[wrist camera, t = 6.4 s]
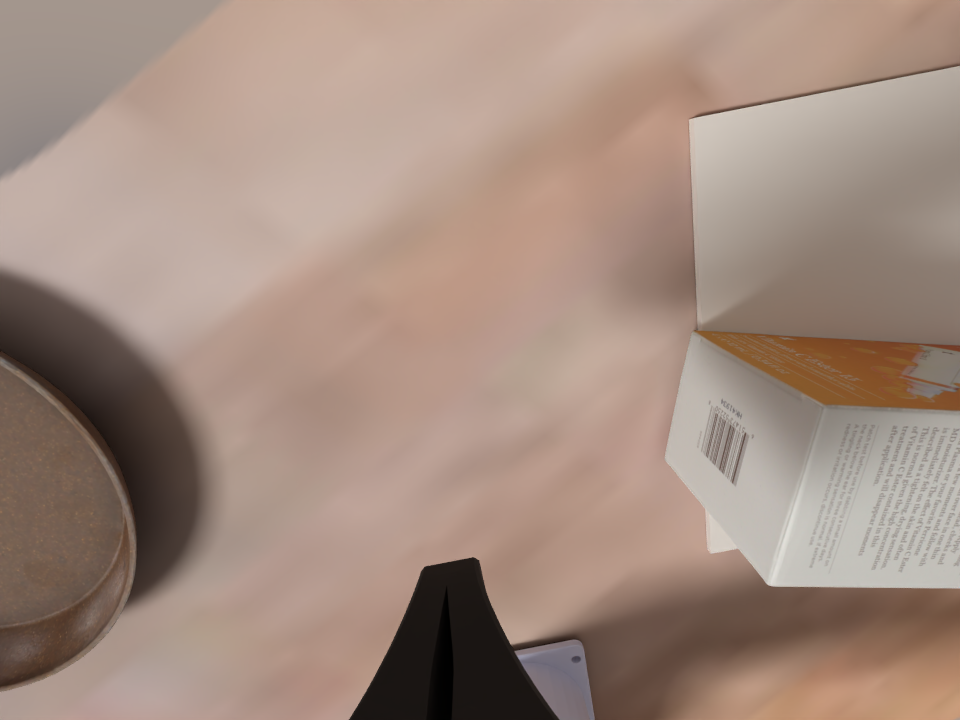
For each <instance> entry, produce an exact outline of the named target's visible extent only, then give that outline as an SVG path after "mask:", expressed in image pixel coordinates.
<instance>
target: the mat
mask: <svg viewBox="0 0 960 720" xmlns="http://www.w3.org/2000/svg"><path fill="white" fill-rule="evenodd" d="M689 133H690V157H691V181H692V204H693V228H694V252H695V275H696V299H697V323H698V331H718V332H735V333H751V334H765V335H779V336H797V337H815V338H835V339H853V340H869V341H886V342H902V343H920V344H938V345H960V66H957V67H952V68H947V69H942V70H937V71H932V72H927V73H921V74H916V75H911V76H906V77H901V78H896V79H891V80H886V81H880V82H875V83H870V84H865V85H860V86H855V87H850V88H845V89H840V90H834V91H829V92H824V93H819V94H814V95H809V96H804V97H799V98H794V99H788V100H783V101H778V102H773V103H768V104H763V105H758V106H753V107H747V108H742V109H737V110H732V111H727V112H722V113H717V114H712V115H707V116H701V117H696V118H692V119H689ZM705 512H706V536H707V549H708V550H709V552H710V553H711V554H712V553H718V552H723V551H728V550H733V549H738V547H737V546H736V545H735V544H734V543H733V541H732V540H731V539H730V538H729V537H728V535H727V534H726V533H725V532H724V531H723V529H722V528H721V527H720V526H719V525H718V523H717V522H716V521H715V520H714V519H713V517H712V516H711V515H710V514H709V512H708V511H707V510H706V509H705Z"/></svg>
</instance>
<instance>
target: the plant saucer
mask: <svg viewBox="0 0 960 720" xmlns="http://www.w3.org/2000/svg"><path fill="white" fill-rule="evenodd" d="M136 558H137V534H136V523H135V516H134V510H133V506H132V502H131V498H130V494H129V491H128V488H127V485H126V482H125V479H124V477H123V474H122V471H121V469H120V467H119V465H118V463H117V461H116V459H115V457H114V455H113V453H112V451H111V449H110V448H109V446H108V445H107V443H106V442H105V440H104V438H103V437H102V436H101V434H100V433H99V432H98V430H97V429H96V428H95V426H94V425H93V424H92V422H91V421H90V420H89V419H88V418H87V417H86V415H85V414H84V413H83V412H82V411H81V410H80V409H79V408H78V407H77V406H76V405H75V404H74V403H73V402H72V401H71V400H70V399H69V398H68V397H67V396H66V395H65V394H63V393H62V392H61V391H60V390H59V389H57V388H56V387H55V386H54V385H52V384H51V383H50V382H48V381H47V380H46V379H45V378H43V377H42V376H40V375H39V374H38V373H36V372H35V371H33V370H32V369H30V368H28V367H27V366H25V365H23V364H22V363H20V362H19V361H17V360H15V359H14V358H12V357H10V356H8V355H7V354H5V353H3V352H1V351H0V692H3V691H7V690H11V689H14V688H18V687H22V686H26V685H29V684H32V683H35V682H37V681H40V680H43V679H45V678H47V677H49V676H51V675H54V674H56V673H58V672H59V671H61V670H63V669H65V668H66V667H68V666H70V665H71V664H73V663H74V662H76V661H77V660H79V659H80V658H82V657H83V656H84V655H86V654H87V653H88V652H89V651H90V650H91V649H93V648H94V647H95V646H96V645H97V644H98V643H99V642H100V641H101V640H102V639H103V638H104V637H105V635H106V634H107V633H108V632H109V631H110V629H111V628H112V627H113V625H114V624H115V623H116V621H117V619H118V617H119V616H120V614H121V612H122V611H123V609H124V607H125V605H126V602H127V600H128V597H129V595H130V592H131V588H132V584H133V581H134V576H135V569H136Z"/></svg>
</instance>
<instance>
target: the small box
mask: <svg viewBox="0 0 960 720" xmlns="http://www.w3.org/2000/svg"><path fill="white" fill-rule="evenodd" d="M665 461H666V462H667V463H668V464H669V465H670V467H671V468H672V469H673V470H674V471H675V473H676V474H677V475H678V476H679V477H680V479H681V480H682V481H683V482H684V483H685V485H686V486H687V487H688V488H689V489H690V491H691V492H692V493H693V494H694V496H695V497H696V498H697V499H698V500H699V502H700V503H701V504H702V505H703V506H704V508H705V509H706V510H707V511H708V512H709V514H710V515H711V516H712V517H713V519H714V520H715V521H716V522H717V523H718V525H719V526H720V527H721V528H722V529H723V531H724V532H725V533H726V534H727V535H728V537H729V538H730V539H731V540H732V541H733V543H734V544H735V545H736V546H737V547H738V549H739V550H740V551H741V552H742V554H743V555H744V556H745V557H746V558H747V560H748V561H749V562H750V563H751V565H752V566H753V567H754V568H755V569H756V571H757V572H758V573H759V574H760V576H761V577H762V578H763V580H764V581H765V582H766V583H767V584H768V585H769V586H774V587H865V588H960V345H938V344H920V343H902V342H886V341H869V340H853V339H835V338H815V337H797V336H779V335H765V334H751V333H735V332H718V331H698V330H695V331H693V332H692V334H691V337H690V342H689V346H688V350H687V355H686V359H685V364H684V368H683V372H682V376H681V381H680V385H679V390H678V395H677V400H676V405H675V409H674V414H673V418H672V423H671V429H670V433H669V438H668V443H667V448H666V454H665Z"/></svg>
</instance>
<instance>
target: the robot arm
mask: <svg viewBox="0 0 960 720" xmlns="http://www.w3.org/2000/svg"><path fill="white" fill-rule="evenodd" d="M574 656H576V657H574ZM349 720H595V717H594V711H593V704H592V698H591V691H590V685H589V678H588V672H587V665H586V659H585V652H584V648H583V645H582V643H581V642H580V641H579V640H569V641H563V642H558V643H553V644H548V645H543V646H538V647H533V648H527V649H522V650H517V651H514V650H513V648H512V646H511V644H510V643H509V641H508V639H507V637H506V635H505V633H504V631H503V629H502V627H501V625H500V623H499V621H498V619H497V617H496V614H495V612H494V610H493V608H492V606H491V603H490V601H489V598H488V596H487V593H486V589H485V585H484V580H483V576H482V571H481V567H480V563H479V560H477V559H476V558H474V557H473V558H468V559H462V560H457V561H452V562H447V563H442V564H436V565H431V566H426V567H424V568H423V570H422V571H421V574H420V577H419V580H418V582H417V585H416V588H415V591H414V593H413V596H412V598H411V601H410V603H409V606H408V608H407V610H406V613H405V615H404V617H403V620H402V622H401V624H400V626H399V628H398V631H397V633H396V635H395V637H394V639H393V642H392V644H391V646H390V648H389V650H388V652H387V654H386V655H385V657H384V659H383V661H382V663H381V665H380V667H379V669H378V671H377V673H376V675H375V677H374V678H373V680H372V682H371V684H370V686H369V687H368V689H367V691H366V693H365V694H364V696H363V698H362V699H361V701H360V703H359V704H358V706H357V708H356V709H355V711H354V713H353V714H352V716H351V717H350V719H349Z"/></svg>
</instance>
